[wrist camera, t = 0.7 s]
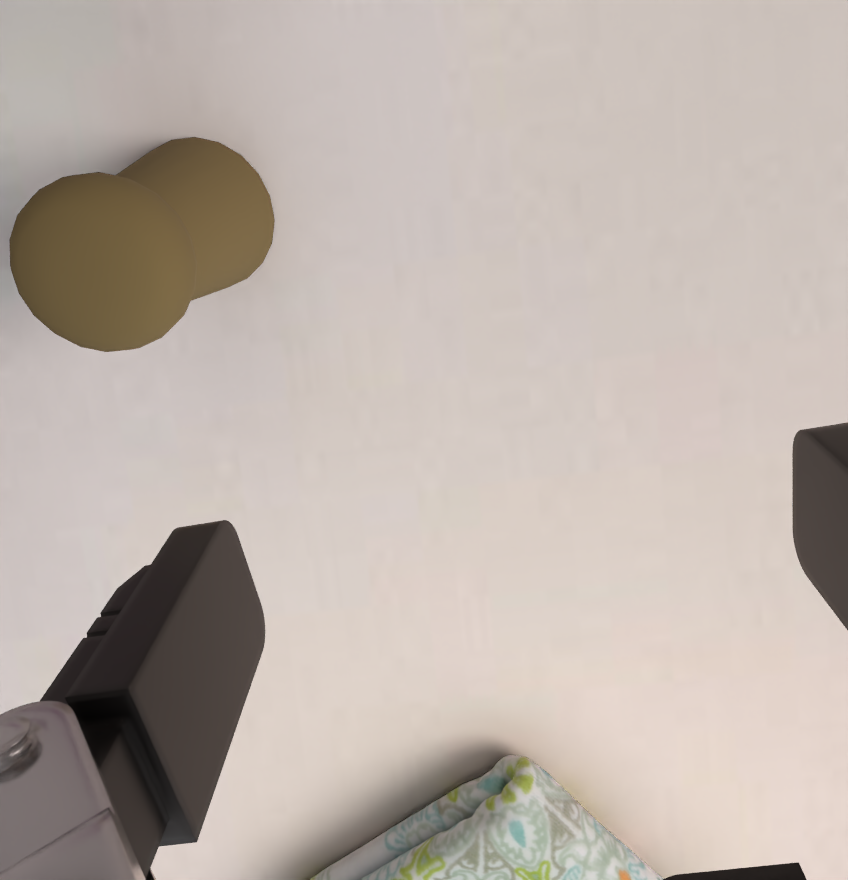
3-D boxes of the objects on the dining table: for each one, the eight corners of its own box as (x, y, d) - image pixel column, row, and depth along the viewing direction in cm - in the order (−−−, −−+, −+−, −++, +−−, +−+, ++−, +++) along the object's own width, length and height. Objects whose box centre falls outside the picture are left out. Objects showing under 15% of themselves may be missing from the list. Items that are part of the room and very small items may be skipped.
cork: (118, 133, 30) (-52, 156, 20) (271, 140, 30) (177, 168, 20) (136, 285, 32) (-6, 374, 22) (277, 293, 32) (196, 385, 22)
